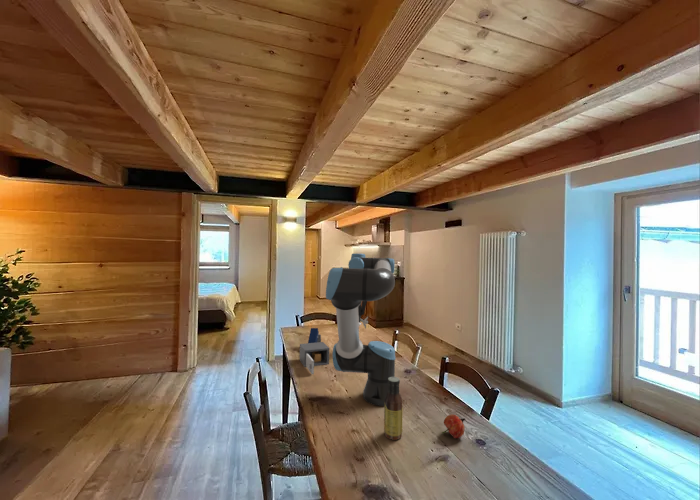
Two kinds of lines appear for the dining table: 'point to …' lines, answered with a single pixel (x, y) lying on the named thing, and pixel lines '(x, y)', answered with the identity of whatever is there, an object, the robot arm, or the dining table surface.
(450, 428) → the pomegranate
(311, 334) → the blue block
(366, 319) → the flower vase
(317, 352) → the block
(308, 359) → the door
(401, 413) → the sauce bottle
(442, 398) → the dining table surface
